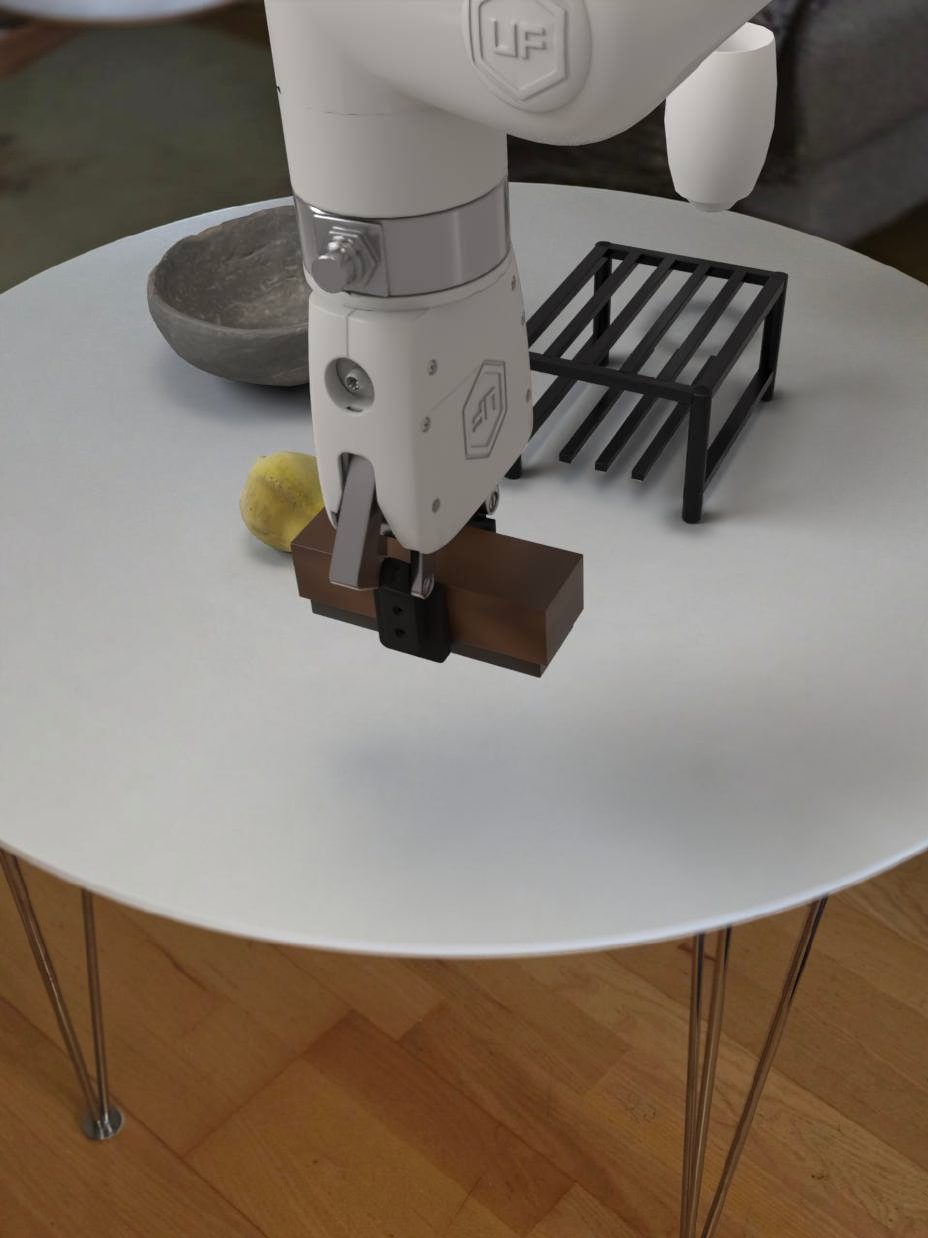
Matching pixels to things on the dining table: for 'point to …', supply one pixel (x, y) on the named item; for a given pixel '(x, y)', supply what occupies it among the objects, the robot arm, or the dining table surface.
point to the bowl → (237, 299)
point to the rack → (604, 337)
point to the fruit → (281, 497)
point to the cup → (723, 121)
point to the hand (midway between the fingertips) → (440, 614)
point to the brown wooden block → (467, 592)
